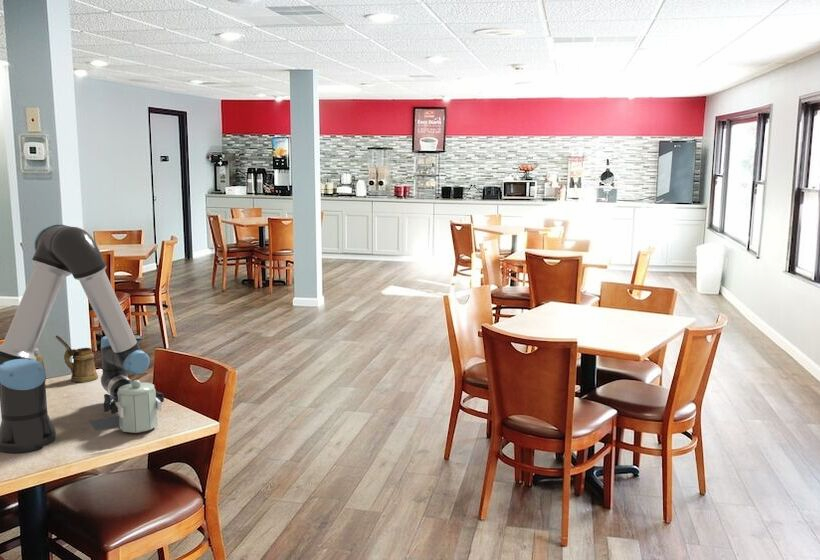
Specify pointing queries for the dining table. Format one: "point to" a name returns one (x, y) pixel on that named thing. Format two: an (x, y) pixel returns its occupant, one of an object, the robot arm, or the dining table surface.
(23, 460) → the dining table surface
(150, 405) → the lidded canister jar
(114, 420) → the mat
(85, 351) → the wooden mug
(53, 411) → the dining table surface
